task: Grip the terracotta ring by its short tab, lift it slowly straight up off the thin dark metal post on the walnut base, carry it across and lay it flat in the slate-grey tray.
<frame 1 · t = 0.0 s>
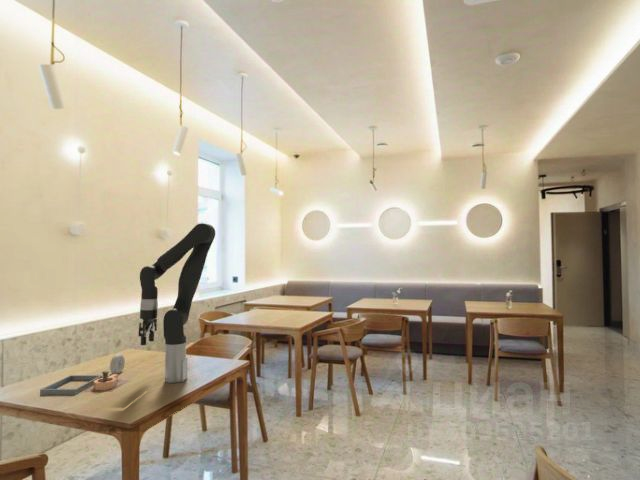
hand: (147, 343, 191), 17 cm above the table, tool pointing down, fingers open, 8 cm apart
tray: (72, 388, 178), on the table
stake: (105, 389, 178), on the table
donut: (117, 374, 200), on the table
ring: (105, 386, 178), point 1 cm above the table, touching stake
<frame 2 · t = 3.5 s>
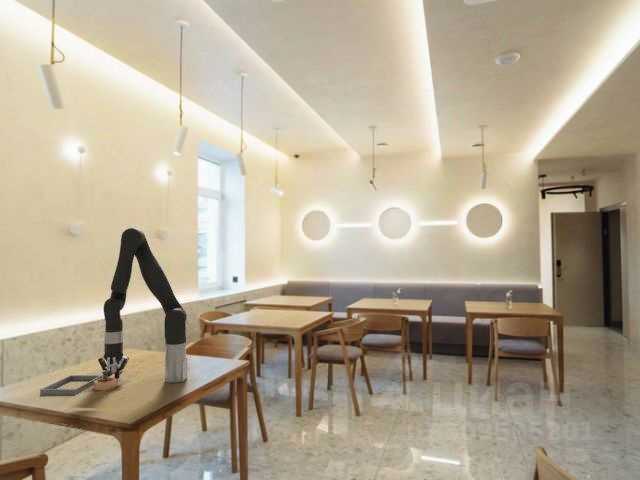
hand: (113, 379, 184), 2 cm above the table, tool pointing down, fingers closed on ring, 2 cm apart
ring: (105, 386, 178), point 1 cm above the table, touching gripper, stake
everything else where it was.
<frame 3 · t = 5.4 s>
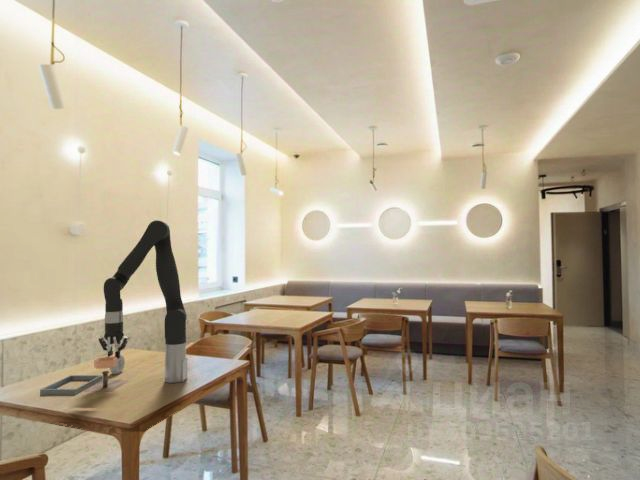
hand: (114, 359, 185), 11 cm above the table, tool pointing down, fingers closed on ring, 2 cm apart
ring: (105, 365, 178), point 10 cm above the table, touching gripper
everything else where it was.
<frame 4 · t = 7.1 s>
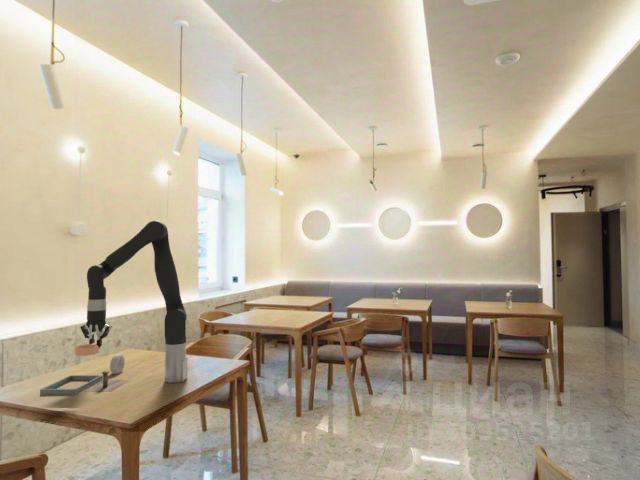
hand: (95, 347, 184), 17 cm above the table, tool pointing down, fingers closed on ring, 2 cm apart
ring: (86, 353, 177), point 16 cm above the table, touching gripper
everything else where it was.
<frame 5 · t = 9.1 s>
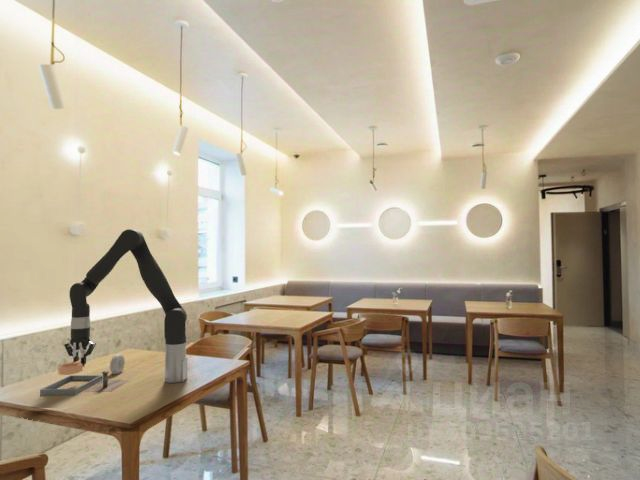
hand: (79, 365, 183), 9 cm above the table, tool pointing down, fingers closed on ring, 2 cm apart
ring: (70, 371, 177), point 8 cm above the table, touching gripper
everything else where it was.
when the fingers open (3 cm above the table, at t = 10.8 s): ring drops 2 cm, resting on tray.
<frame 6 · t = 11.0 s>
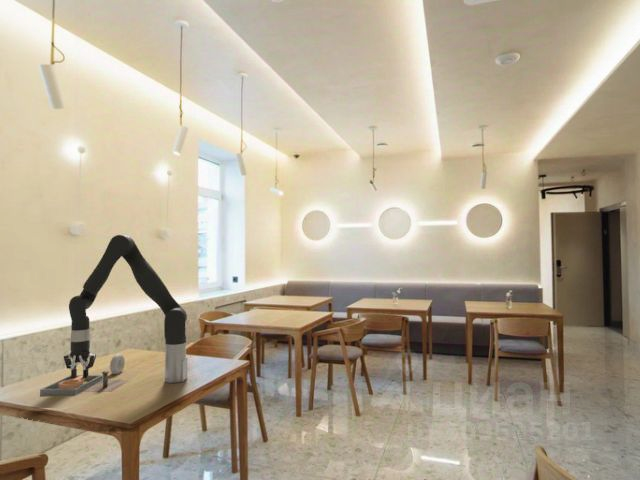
hand: (79, 377, 183), 3 cm above the table, tool pointing down, fingers open, 4 cm apart
ring: (70, 388, 176), point 1 cm above the table, touching tray
everything else where it was.
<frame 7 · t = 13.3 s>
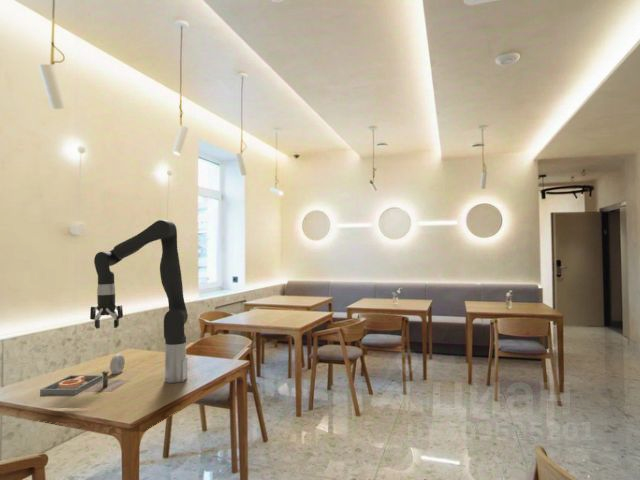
hand: (106, 328, 193), 24 cm above the table, tool pointing down, fingers open, 8 cm apart
nothing on the table moved.
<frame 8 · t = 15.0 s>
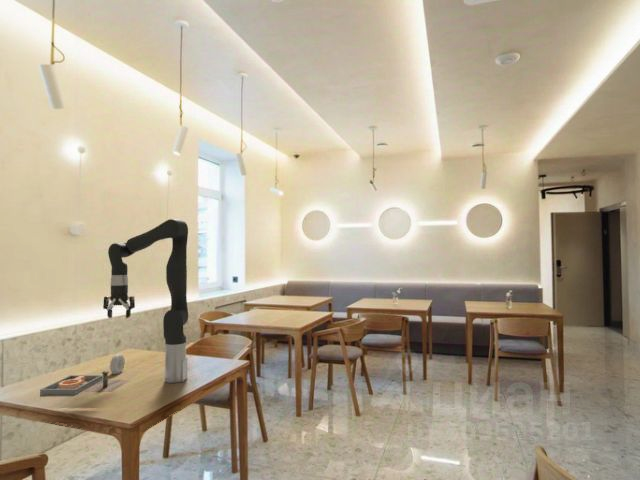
hand: (118, 317, 198), 28 cm above the table, tool pointing down, fingers open, 8 cm apart
nothing on the table moved.
at the end: ring inside the target area on the tray (0.1 cm from its centre), point 0.6 cm above the tray's base; ring tilted 0°; the gripper is holding nothing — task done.
